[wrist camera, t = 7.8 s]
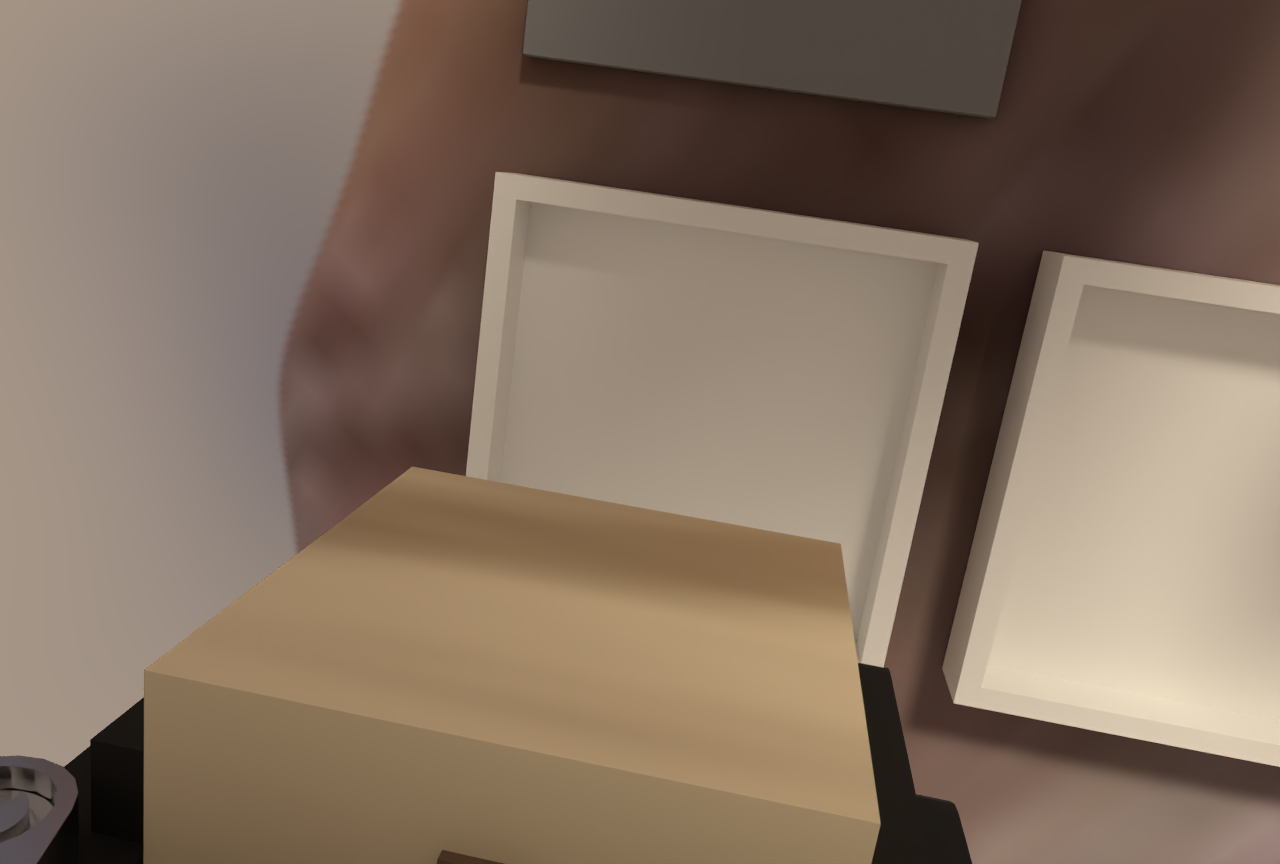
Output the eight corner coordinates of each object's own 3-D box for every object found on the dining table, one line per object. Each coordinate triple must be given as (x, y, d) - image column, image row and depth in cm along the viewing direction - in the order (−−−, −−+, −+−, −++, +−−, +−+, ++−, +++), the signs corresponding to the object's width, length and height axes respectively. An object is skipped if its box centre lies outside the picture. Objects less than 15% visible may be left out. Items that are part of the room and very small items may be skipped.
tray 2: (1043, 250, 25) (1064, 255, 23) (1544, 324, 24) (1610, 336, 22) (942, 668, 28) (953, 703, 27) (1382, 752, 27) (1428, 795, 25)
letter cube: (411, 466, 12) (134, 677, 7) (840, 544, 11) (883, 834, 6) (383, 835, 13) (134, 1237, 8) (763, 920, 12) (747, 1405, 7)
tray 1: (516, 172, 27) (495, 172, 25) (964, 239, 26) (978, 243, 24) (474, 578, 30) (452, 605, 28) (872, 655, 29) (878, 688, 27)
